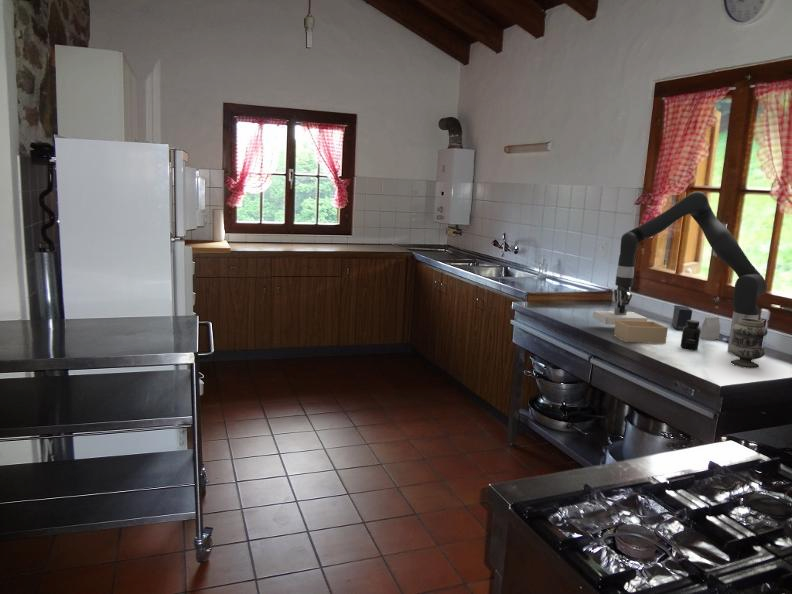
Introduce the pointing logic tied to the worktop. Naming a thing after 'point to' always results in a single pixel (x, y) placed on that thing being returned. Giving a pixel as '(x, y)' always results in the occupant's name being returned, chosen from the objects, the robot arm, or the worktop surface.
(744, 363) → the apothecary jar
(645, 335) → the box
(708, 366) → the worktop surface
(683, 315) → the small box
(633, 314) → the mailer lid
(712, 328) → the printed product carton
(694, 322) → the supplement bottle
